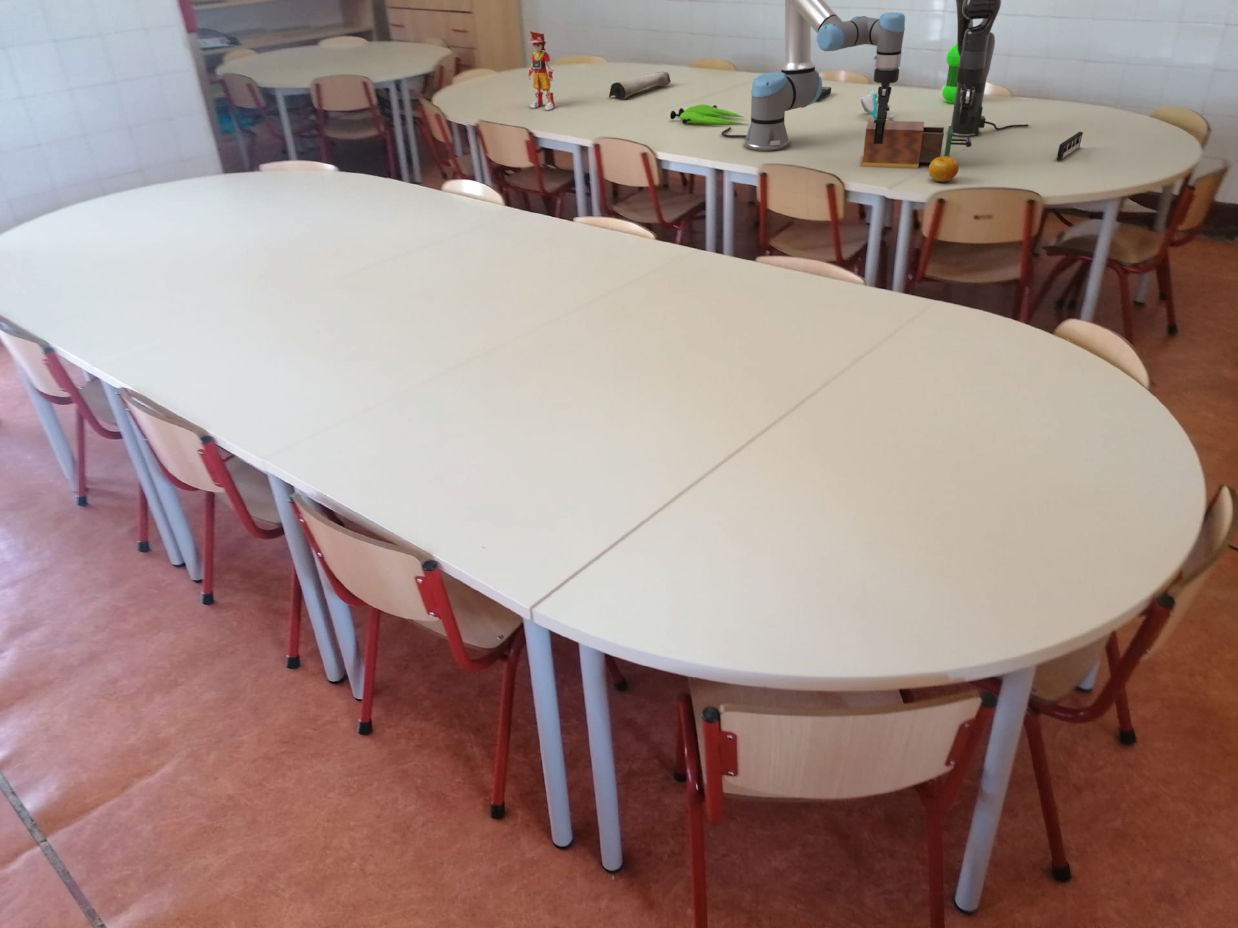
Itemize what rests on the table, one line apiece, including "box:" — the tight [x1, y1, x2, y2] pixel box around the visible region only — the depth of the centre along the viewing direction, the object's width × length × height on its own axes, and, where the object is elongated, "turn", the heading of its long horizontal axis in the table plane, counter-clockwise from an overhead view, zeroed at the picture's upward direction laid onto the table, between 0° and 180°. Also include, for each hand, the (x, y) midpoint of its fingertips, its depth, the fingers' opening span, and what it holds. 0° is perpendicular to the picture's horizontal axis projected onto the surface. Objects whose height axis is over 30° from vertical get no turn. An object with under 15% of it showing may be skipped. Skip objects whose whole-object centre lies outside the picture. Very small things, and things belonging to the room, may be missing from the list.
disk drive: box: [815, 86, 832, 102], centre depth 372 cm, size 10×3×15 cm
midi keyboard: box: [1056, 131, 1084, 161], centre depth 291 cm, size 18×1×5 cm, turn 138°
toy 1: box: [527, 31, 556, 111], centre depth 374 cm, size 12×9×30 cm
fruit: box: [928, 155, 959, 183], centre depth 276 cm, size 8×8×8 cm
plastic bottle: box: [942, 43, 960, 104], centre depth 348 cm, size 10×10×25 cm
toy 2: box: [669, 104, 746, 125], centre depth 349 cm, size 28×5×30 cm
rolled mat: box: [608, 71, 672, 101], centre depth 395 cm, size 30×9×10 cm
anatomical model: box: [860, 90, 895, 121], centre depth 340 cm, size 15×10×10 cm
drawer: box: [919, 125, 972, 164], centre depth 289 cm, size 23×9×10 cm, turn 73°
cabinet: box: [861, 120, 925, 169], centre depth 293 cm, size 18×10×12 cm, turn 73°
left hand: (879, 138), depth 293 cm, fingers open, 13 cm apart
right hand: (962, 124), depth 283 cm, fingers closed
